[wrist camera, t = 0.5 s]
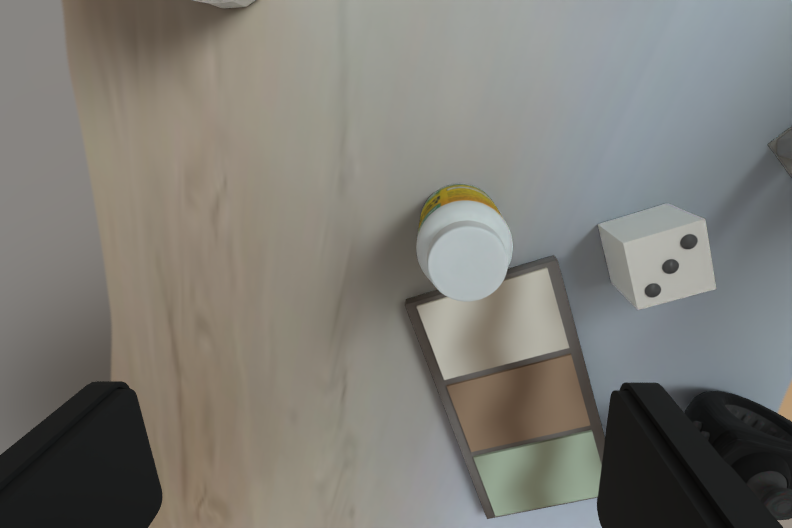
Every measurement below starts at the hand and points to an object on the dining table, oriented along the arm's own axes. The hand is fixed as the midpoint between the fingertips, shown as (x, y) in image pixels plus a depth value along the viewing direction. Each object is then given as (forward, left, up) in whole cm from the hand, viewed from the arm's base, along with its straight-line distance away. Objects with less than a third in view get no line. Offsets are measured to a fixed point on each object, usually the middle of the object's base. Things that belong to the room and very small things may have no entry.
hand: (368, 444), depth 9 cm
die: (-13, +8, -24) cm, 28 cm away
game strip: (-2, +17, -24) cm, 29 cm away
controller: (-17, +23, -24) cm, 37 cm away
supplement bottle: (-2, +2, -24) cm, 24 cm away
